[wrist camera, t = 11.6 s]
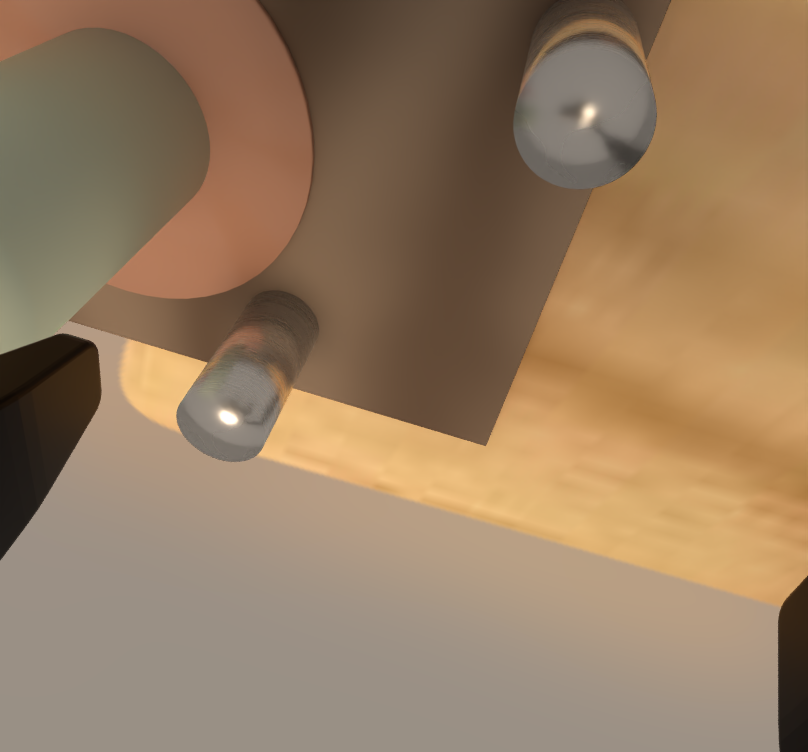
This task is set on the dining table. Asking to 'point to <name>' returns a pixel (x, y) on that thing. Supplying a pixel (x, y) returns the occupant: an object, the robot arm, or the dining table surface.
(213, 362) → the steel post
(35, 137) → the sage cylinder
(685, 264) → the dining table surface
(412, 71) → the course board
